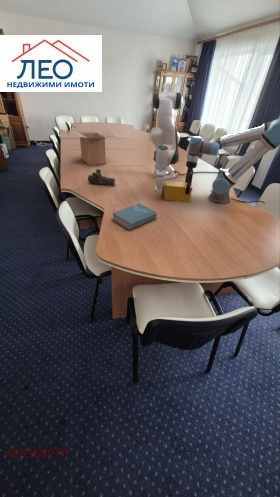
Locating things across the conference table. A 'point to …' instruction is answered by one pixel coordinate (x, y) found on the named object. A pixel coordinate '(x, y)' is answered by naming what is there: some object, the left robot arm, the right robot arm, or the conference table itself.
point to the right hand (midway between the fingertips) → (186, 191)
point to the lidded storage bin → (176, 191)
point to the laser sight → (100, 179)
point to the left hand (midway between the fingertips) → (158, 189)
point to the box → (92, 146)
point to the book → (134, 216)
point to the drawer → (160, 191)
